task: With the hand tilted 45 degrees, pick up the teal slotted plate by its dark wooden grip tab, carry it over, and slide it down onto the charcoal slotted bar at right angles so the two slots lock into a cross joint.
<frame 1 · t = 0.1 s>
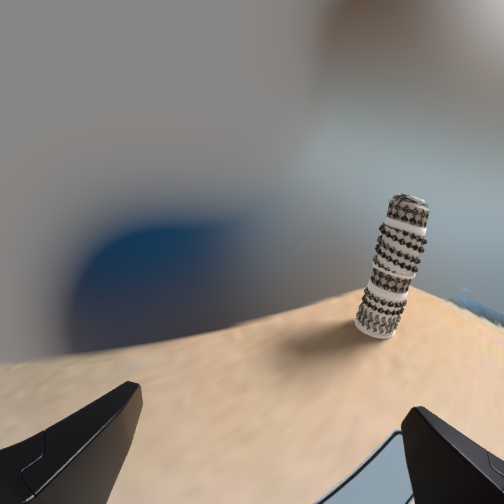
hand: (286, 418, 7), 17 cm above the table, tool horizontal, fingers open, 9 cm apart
smartphone: (382, 487, 17), on the table
decorative candle: (374, 328, 48), on the table
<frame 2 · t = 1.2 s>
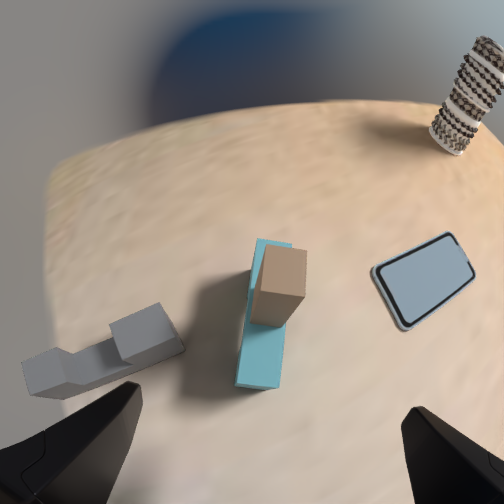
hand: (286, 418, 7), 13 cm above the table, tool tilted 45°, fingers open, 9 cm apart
slotted plate: (258, 327, 22), on the table
smartphone: (428, 277, 26), on the table
decorative candle: (445, 141, 42), on the table
slotted bar: (113, 364, 19), on the table
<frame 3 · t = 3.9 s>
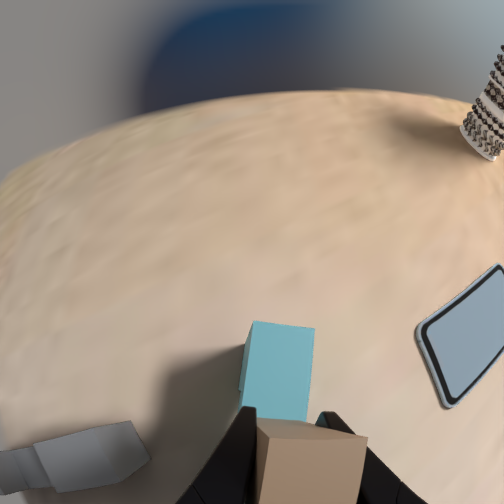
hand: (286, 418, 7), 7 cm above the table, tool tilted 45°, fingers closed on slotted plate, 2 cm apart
slotted plate: (255, 431, 13), on the table, touching gripper
smartphone: (477, 327, 17), on the table
decorative candle: (477, 143, 32), on the table
slotted bar: (63, 461, 10), on the table
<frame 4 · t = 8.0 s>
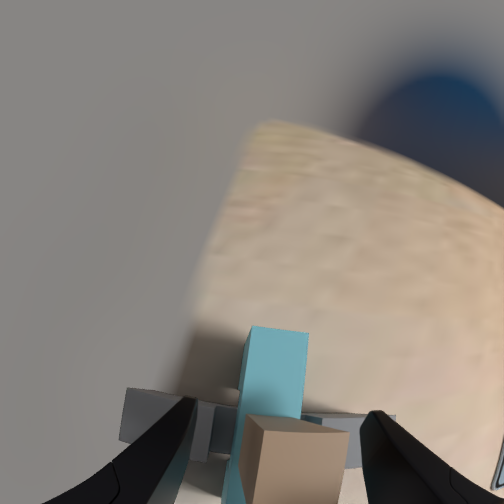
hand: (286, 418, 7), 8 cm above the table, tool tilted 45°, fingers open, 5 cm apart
slotted plate: (254, 428, 14), on the table
slotted bar: (254, 429, 14), on the table
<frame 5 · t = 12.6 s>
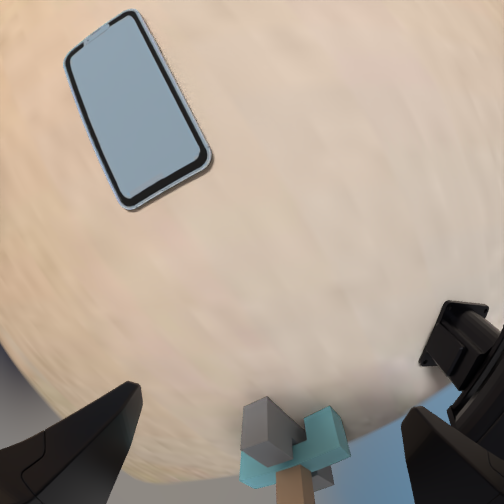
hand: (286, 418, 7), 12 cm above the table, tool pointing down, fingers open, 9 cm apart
slotted plate: (290, 432, 23), on the table
smartphone: (129, 99, 16), on the table
slotted bar: (290, 432, 23), on the table
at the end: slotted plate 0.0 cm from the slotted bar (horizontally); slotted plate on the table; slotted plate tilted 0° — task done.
